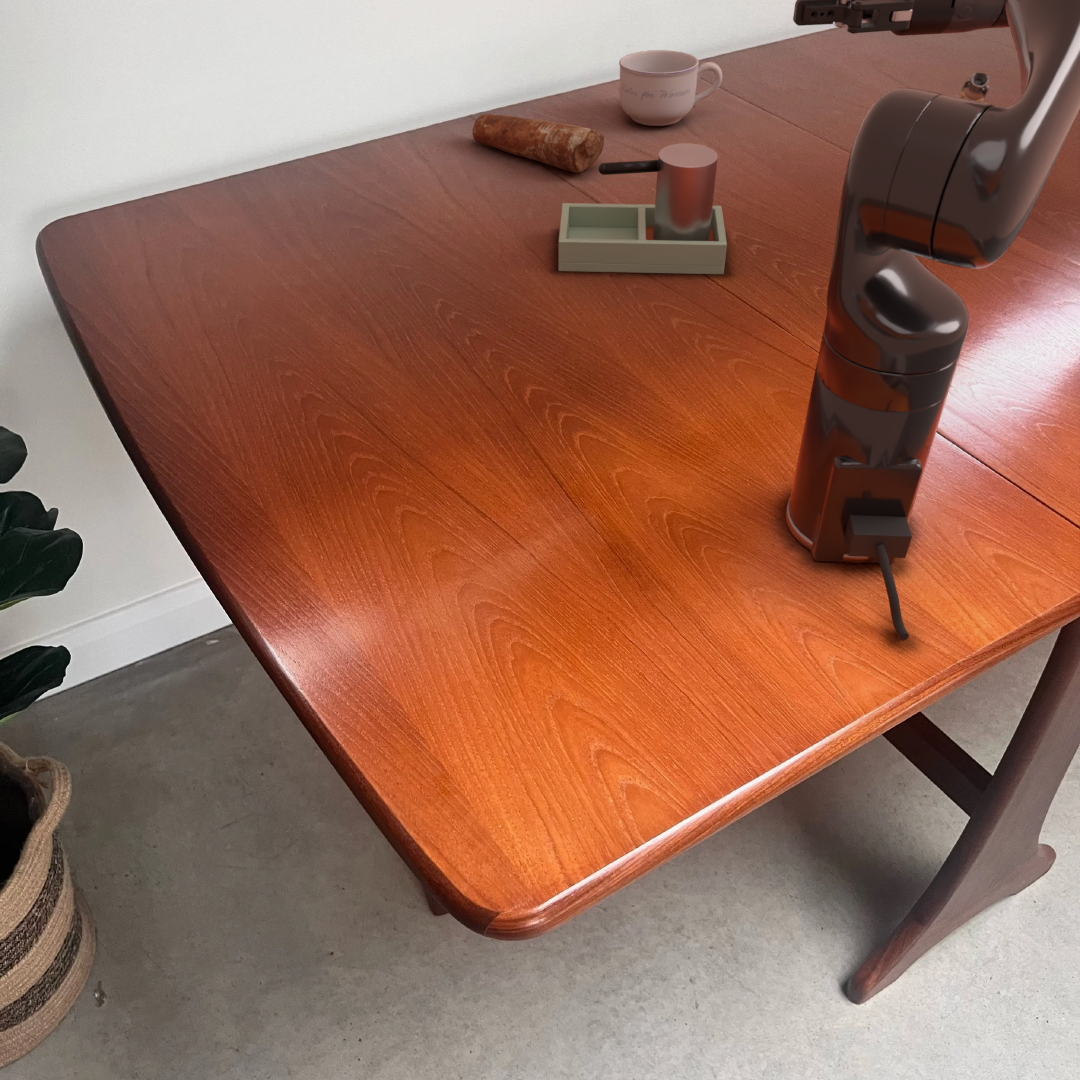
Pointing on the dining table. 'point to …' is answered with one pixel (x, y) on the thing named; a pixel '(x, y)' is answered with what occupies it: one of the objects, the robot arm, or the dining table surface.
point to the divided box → (633, 242)
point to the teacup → (662, 85)
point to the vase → (975, 87)
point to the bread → (541, 140)
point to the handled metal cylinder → (678, 189)
